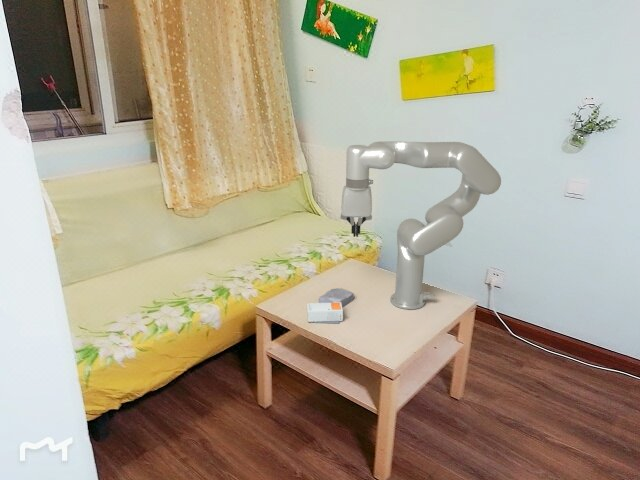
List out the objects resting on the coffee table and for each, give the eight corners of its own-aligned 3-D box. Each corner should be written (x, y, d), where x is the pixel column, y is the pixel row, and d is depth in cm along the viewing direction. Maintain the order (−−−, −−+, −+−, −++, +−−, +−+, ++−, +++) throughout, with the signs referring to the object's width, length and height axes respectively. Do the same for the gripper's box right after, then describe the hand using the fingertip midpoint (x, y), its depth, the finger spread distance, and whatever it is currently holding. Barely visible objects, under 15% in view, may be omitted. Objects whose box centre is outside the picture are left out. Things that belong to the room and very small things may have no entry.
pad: (339, 310, 165) (339, 309, 165) (339, 323, 157) (339, 322, 157) (317, 310, 166) (317, 309, 166) (315, 323, 157) (315, 322, 157)
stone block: (316, 309, 170) (339, 312, 164) (314, 297, 169) (337, 299, 163) (334, 298, 180) (356, 300, 174) (332, 286, 179) (354, 288, 173)
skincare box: (343, 309, 156) (307, 311, 156) (343, 321, 158) (308, 322, 157) (341, 301, 162) (307, 302, 161) (341, 312, 163) (307, 313, 163)
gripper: (379, 181, 157) (376, 232, 163) (335, 180, 157) (334, 231, 164) (380, 186, 150) (378, 239, 156) (334, 185, 150) (333, 238, 157)
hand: (355, 235), depth 160 cm, fingers closed
